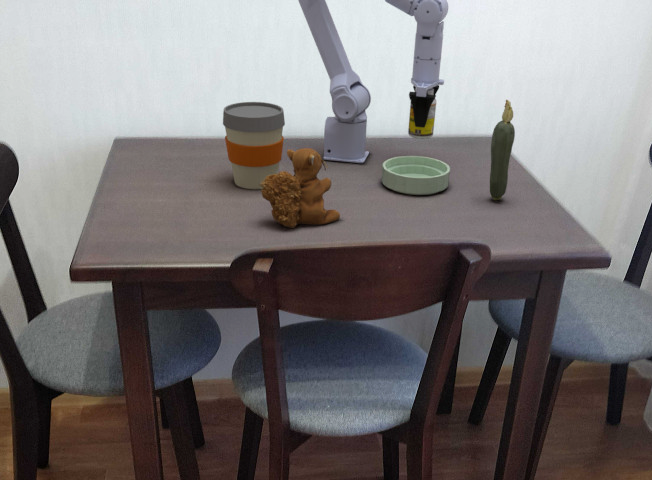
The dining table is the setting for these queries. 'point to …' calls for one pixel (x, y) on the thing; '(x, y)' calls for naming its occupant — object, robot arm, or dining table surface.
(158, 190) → the dining table surface
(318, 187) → the stuffed squirrel
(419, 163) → the bowl
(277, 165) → the reusable coffee cup
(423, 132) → the supplement bottle
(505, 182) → the vegetable
